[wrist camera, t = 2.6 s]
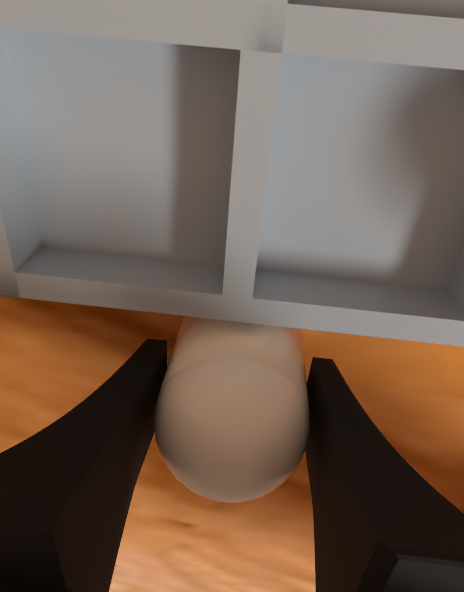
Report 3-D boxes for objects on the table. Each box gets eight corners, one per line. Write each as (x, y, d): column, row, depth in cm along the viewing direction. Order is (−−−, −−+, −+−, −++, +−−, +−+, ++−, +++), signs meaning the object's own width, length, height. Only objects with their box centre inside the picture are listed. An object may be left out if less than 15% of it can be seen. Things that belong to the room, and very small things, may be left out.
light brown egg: (291, 393, 16) (300, 547, 11) (178, 380, 16) (138, 526, 11) (312, 296, 14) (333, 436, 9) (180, 282, 14) (130, 412, 9)
